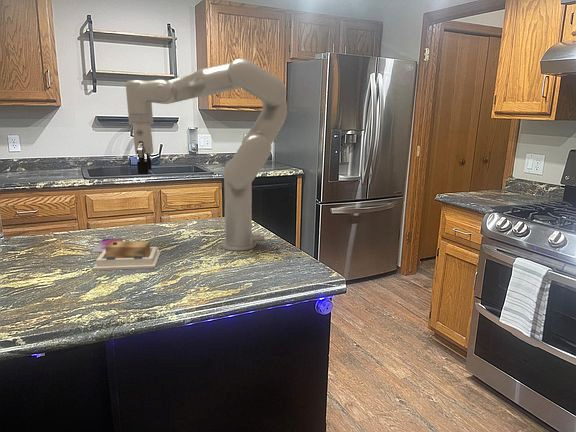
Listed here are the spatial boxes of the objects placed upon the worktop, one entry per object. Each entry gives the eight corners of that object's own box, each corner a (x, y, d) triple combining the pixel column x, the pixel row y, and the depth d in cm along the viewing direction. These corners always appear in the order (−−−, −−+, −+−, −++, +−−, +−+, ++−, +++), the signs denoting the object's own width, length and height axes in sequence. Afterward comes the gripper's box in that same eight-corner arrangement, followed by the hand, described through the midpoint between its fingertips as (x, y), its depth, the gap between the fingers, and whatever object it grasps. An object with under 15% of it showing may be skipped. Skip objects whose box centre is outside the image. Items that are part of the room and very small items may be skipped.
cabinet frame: (160, 253, 145) (160, 242, 144) (154, 268, 131) (154, 256, 130) (104, 255, 142) (103, 244, 141) (92, 270, 129) (91, 258, 128)
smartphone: (88, 252, 144) (103, 239, 158) (89, 254, 144) (103, 241, 158) (111, 251, 144) (123, 238, 159) (111, 254, 145) (123, 240, 159)
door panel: (150, 256, 140) (149, 239, 138) (145, 262, 134) (144, 245, 133) (113, 256, 139) (111, 239, 138) (106, 262, 133) (105, 245, 132)
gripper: (150, 120, 132) (154, 175, 137) (155, 119, 149) (158, 168, 153) (124, 120, 131) (129, 176, 135) (132, 119, 147) (136, 168, 152)
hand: (145, 171), depth 144 cm, fingers open, 9 cm apart
